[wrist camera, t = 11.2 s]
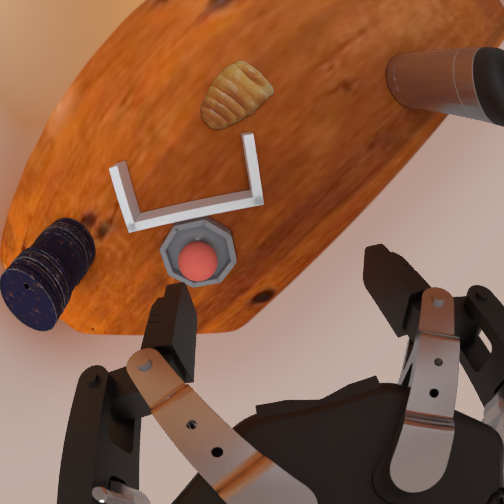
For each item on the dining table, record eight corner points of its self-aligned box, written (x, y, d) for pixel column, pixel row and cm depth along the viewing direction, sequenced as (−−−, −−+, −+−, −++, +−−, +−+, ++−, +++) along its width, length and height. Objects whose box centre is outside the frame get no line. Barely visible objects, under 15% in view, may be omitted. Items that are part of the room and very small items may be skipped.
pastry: (226, 139, 33) (227, 142, 30) (187, 108, 31) (184, 107, 27) (275, 90, 31) (282, 87, 27) (237, 57, 28) (239, 51, 25)
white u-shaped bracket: (249, 131, 33) (253, 133, 30) (259, 196, 37) (263, 204, 34) (118, 162, 32) (108, 168, 29) (135, 222, 37) (129, 232, 34)
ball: (213, 231, 38) (212, 250, 34) (220, 263, 41) (221, 285, 36) (176, 238, 38) (170, 258, 34) (186, 270, 41) (182, 292, 36)
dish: (226, 210, 38) (227, 215, 36) (239, 272, 43) (240, 278, 42) (155, 225, 38) (153, 230, 36) (175, 284, 43) (174, 290, 41)
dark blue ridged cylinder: (88, 280, 40) (55, 342, 27) (44, 255, 37) (1, 309, 24) (102, 233, 37) (60, 292, 24) (53, 207, 33) (-2, 254, 20)
